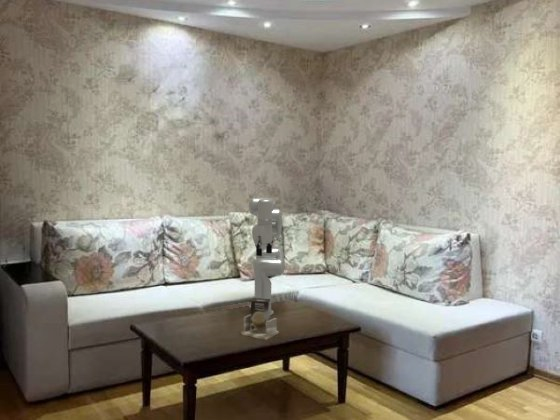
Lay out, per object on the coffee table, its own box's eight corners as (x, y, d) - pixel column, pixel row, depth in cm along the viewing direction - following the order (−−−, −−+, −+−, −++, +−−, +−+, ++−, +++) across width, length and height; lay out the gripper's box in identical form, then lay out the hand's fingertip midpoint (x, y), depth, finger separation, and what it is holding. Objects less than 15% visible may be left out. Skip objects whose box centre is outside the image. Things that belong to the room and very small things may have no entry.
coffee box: (249, 332, 250) (250, 300, 249) (252, 328, 257) (252, 297, 255) (267, 333, 249) (268, 301, 248) (270, 329, 255) (270, 298, 254)
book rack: (240, 334, 251) (240, 318, 251) (254, 327, 262) (254, 312, 261) (266, 340, 244) (266, 323, 243) (279, 333, 254) (279, 317, 253)
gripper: (267, 220, 278) (266, 251, 279) (249, 223, 263) (249, 256, 264) (279, 221, 274) (278, 253, 275) (261, 224, 259) (261, 257, 261)
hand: (264, 254), depth 270 cm, fingers open, 9 cm apart
